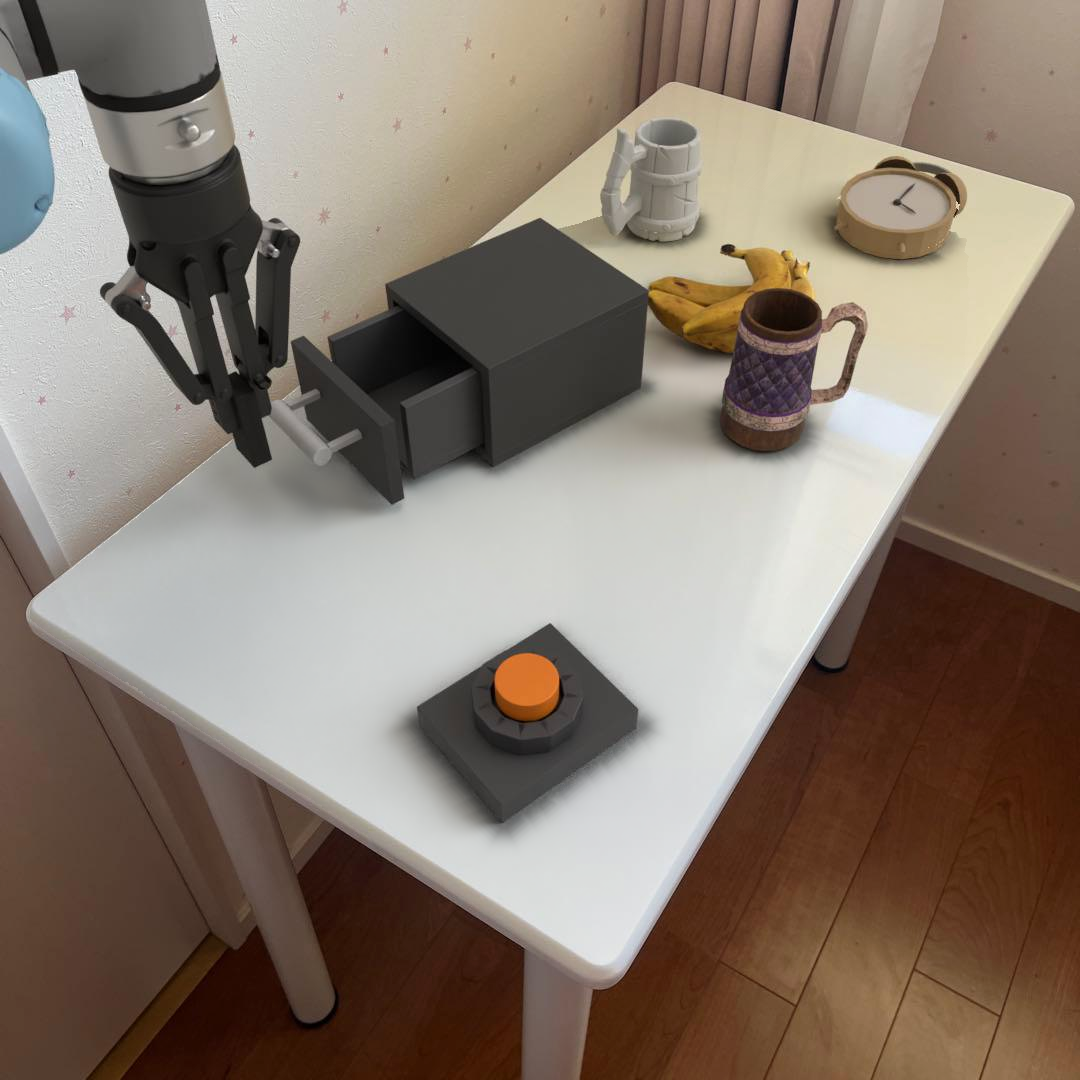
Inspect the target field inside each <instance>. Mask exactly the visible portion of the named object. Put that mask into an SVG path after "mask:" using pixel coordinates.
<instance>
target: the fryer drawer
mask: <svg viewBox="0 0 1080 1080" xmlns="http://www.w3.org/2000/svg"><path fill="white" fill-rule="evenodd" d="M327 343H328V350H329V355H330V358H328V356H326V354H324V353H323V352H322V351H321V350H320V349H319V348H318V347H316V345H314V343H312V342H311V341H310V339H308V338H307V337H306V336H305V335H301V336H299V337H297V338H294V339H292V340H291V341H290V346H291V350H292V356H293V360H294V365H295V370H296V374H297V380H298V383H299V389H300V393H301V395H299V396H297V397H295V398H292V399H291V400H288V401H286V402H285V401H284V400H282V399H275V400H273V401H270V402H271V406H272V410H271V414H270V415H268V417H269V418H270V420H271V421H272V422H274V424H275V425H276V426H277V427H278V428H279V429H280V430H281V431H282V432H283V433H284V434H285V435H286V436H287V437H288V438H289V439H290V440H291V441H292V442H293V443H294V445H296V446H297V447H298V448H299V449H300V451H301V452H302V453H303V454H304V455H305V456H306V457H307V458H308V459H309V460H310V461H311V462H312V463H313V464H314V465H315V466H318V467H319V466H320V467H321V466H324V465H326V464H327V463H329V461H330V460H331V459H332V456H333V453H335V452H338V453H339V454H340V455H341V456H342V457H343V458H344V459H345V460H346V461H347V462H348V463H349V464H350V465H351V466H352V467H354V469H355V470H356V471H357V472H358V473H359V474H360V475H361V476H362V477H363V478H364V479H365V480H366V481H367V483H369V484H370V485H371V486H372V487H373V489H375V490H376V491H377V492H378V493H379V494H380V495H381V496H382V497H383V498H384V499H385V500H386V501H387V502H388V503H389V504H390V505H391V506H393V505H395V504H397V503H399V502H401V501H403V500H405V492H404V483H403V477H402V470H403V471H405V473H406V474H408V475H409V477H411V478H412V480H416V479H419V478H420V477H422V476H424V475H426V474H428V473H430V472H432V471H434V470H436V469H438V468H439V467H442V466H443V465H445V464H447V463H449V462H451V461H452V460H454V459H456V458H458V457H461V456H462V455H465V454H466V453H468V452H470V451H472V450H474V448H476V447H477V446H479V445H481V444H483V443H485V433H484V415H483V396H482V378H481V372H480V371H479V370H477V369H476V368H475V367H474V366H473V365H471V364H470V363H469V362H468V361H467V360H465V359H464V358H463V357H462V356H460V355H459V354H458V353H457V352H456V351H454V350H453V349H452V348H451V347H450V346H448V345H447V344H446V343H445V342H444V341H442V340H441V339H440V338H439V337H438V336H436V335H435V334H434V333H433V332H432V331H430V330H429V329H428V328H427V327H425V326H424V325H423V324H422V323H421V322H419V321H418V320H417V319H416V318H415V317H413V316H412V315H411V314H410V313H409V312H407V311H406V310H405V309H404V308H403V307H401V306H400V305H398V306H396V307H394V308H391V309H389V310H388V309H387V310H384V311H382V312H380V313H378V314H375V315H373V316H371V317H369V318H366V319H364V320H362V321H360V322H358V323H355V324H352V325H350V326H348V327H346V328H344V329H342V330H339V331H337V332H335V333H332V334H330V335H328V336H327ZM300 408H304V413H305V419H306V420H307V421H308V422H309V423H310V424H311V425H312V426H313V427H314V429H315V430H316V431H318V433H320V435H321V436H323V437H324V438H325V439H326V441H327V443H325V442H324V441H323V439H321V438H320V437H319V436H318V435H317V434H316V432H314V431H313V430H312V428H310V427H309V426H308V424H306V423H305V422H304V420H303V419H302V418H301V417H300V416H299V415H298V414H297V413H296V412H295V411H296V410H298V409H300Z"/></svg>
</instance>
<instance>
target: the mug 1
mask: <svg viewBox="0 0 1080 1080" xmlns="http://www.w3.org/2000/svg"><path fill="white" fill-rule="evenodd" d="M701 148H702V131H701V129H700V128H699V127H698V126H696V125H694V124H693V123H691V122H690V121H688V120H687V119H683V118H680V117H674V116H673V117H671V116H670V117H668V116H665V117H663V116H662V117H653V118H650V120H645V121H643V122H641V123H640V124H639V125H638V126H637V128H636V130H635V134H634V141H633V139H632V138H631V136H630V134H629V132H628V131H627V130H626V129H625V128H622V127H617V128H616V141H615V146H614V151H613V152H612V156H611V158H610V163H609V166H608V169H607V171H606V173H605V176H606V178H605V179H604V180H605V181H604V184H603V187H601V190H600V194H599V197H600V203H601V216H602V220H603V223H604V224H605V226H606V227H607V229H608V231H609V233H610V235H612V236H618V235H619V234H620V233H621V232H622V231H623V229H624V227H626V224H627V227H628V229H629V231H631V233H632V234H634V235H635V236H637V237H639V238H642V239H644V240H649V241H653V242H654V241H658V242H664V243H665V242H674V241H678V240H681V239H683V237H686V236H689V235H690V234H691V233H692V232H693V231H694V230H695V228H696V224H697V221H698V220H699V217H700V214H701V204H700V201H699V199H698V197H699V180H700V179H699V178H700V176H701V175H702V172H703V171H702V169H703V159H702V156H701V150H702V149H701ZM629 170H630V172H631V173H630V182H629V183H630V184H629V193H628V195H627V197H626V198H625V200H624V202H623V203H622V200H621V192H622V190H621V187H622V183H623V181H624V179H625V178H626V176H627V174H628V173H629ZM638 227H639V228H638ZM640 228H641V229H640ZM645 230H647V231H645ZM681 230H682V231H681ZM677 231H679V232H677ZM654 232H657V233H654Z"/></svg>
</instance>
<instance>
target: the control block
mask: <svg viewBox="0 0 1080 1080" xmlns="http://www.w3.org/2000/svg"><path fill="white" fill-rule="evenodd" d="M523 653H531V654H537V655H540V656H542V657H544V658H546V659H548V660H549V661H550V662H551V663H552V664H553V665H554V666H555V668H556V669H557V672H558V675H559V699H558V702H557V705H556V706H555V708H554V709H553V711H552V712H551V713H549V714H548V715H547V716H545V717H543V718H541V719H539V720H535V721H519V720H515V719H512V718H510V717H508V716H507V715H506V714H504V713H503V712H502V711H501V709H500V708H499V707H498V705H497V702H496V698H495V682H494V679H495V674H496V671H497V669H498V667H499V666H500V665H501V664H502V663H503V662H504V661H505V660H506V659H508V658H510V657H512V656H514V655H518V654H523ZM416 713H417V718H418V719H417V720H418V725H419V728H421V730H422V731H423V733H425V735H427V737H428V738H429V739H430V740H431V741H432V742H433V744H434V745H435V746H436V747H437V748H438V750H439V751H440V752H441V753H442V754H443V756H444V757H445V758H446V759H447V760H448V761H449V763H450V764H451V765H452V766H453V767H454V769H455V770H456V771H457V772H458V773H459V774H460V775H461V777H462V778H463V779H464V780H465V782H467V784H468V785H469V786H470V787H471V788H472V789H473V791H474V792H475V793H476V794H477V796H478V797H479V798H480V799H481V800H482V801H483V802H484V804H485V805H486V806H487V808H489V810H490V811H491V812H492V813H493V815H495V816H496V818H497V819H498V820H499V821H500V822H501V823H502V824H503V823H505V822H506V821H508V820H509V819H510V818H512V817H513V816H514V815H516V814H517V813H519V812H520V811H522V810H523V809H525V808H526V807H527V806H529V805H530V804H531V803H533V802H534V801H536V800H537V799H538V798H540V797H541V796H543V795H544V794H545V793H547V792H549V790H552V788H554V787H555V786H556V785H558V784H560V783H561V782H562V781H564V780H565V779H566V778H568V777H570V776H571V775H573V773H575V772H576V771H578V770H579V769H581V768H582V767H584V766H585V765H587V764H588V763H590V761H592V760H594V759H595V758H596V757H597V756H599V755H600V754H602V753H603V752H605V751H607V749H609V748H610V747H612V746H613V745H615V744H616V743H617V742H619V741H620V740H622V739H623V738H624V737H626V736H627V735H628V734H630V733H632V732H633V731H634V730H636V729H637V728H638V727H637V726H638V717H639V708H638V707H637V706H636V705H635V704H634V703H633V702H632V701H631V700H630V699H629V698H628V697H627V696H626V695H625V694H624V693H623V692H622V691H621V690H619V688H618V687H617V686H615V684H614V683H612V682H611V681H610V680H609V678H607V676H606V675H604V674H603V673H602V672H601V671H600V670H599V669H598V668H597V667H596V666H595V664H593V663H592V662H591V661H590V660H589V659H588V658H587V657H586V656H585V655H584V654H583V653H582V652H581V651H580V650H579V649H578V648H577V647H576V646H575V645H573V644H572V643H571V641H569V639H567V637H566V636H565V635H563V634H562V633H561V632H560V631H559V630H558V629H557V628H556V627H555V626H554V625H553V624H552V623H551V622H549V623H548V624H546V625H544V626H543V627H541V628H539V629H538V630H537V631H535V632H533V633H532V634H530V635H528V636H527V637H525V638H523V639H522V640H521V641H519V642H517V643H516V644H514V645H513V646H511V647H509V648H508V649H505V650H503V651H502V652H500V653H499V654H497V655H495V656H493V657H492V658H491V659H489V660H487V661H486V662H484V663H483V664H481V666H479V667H477V668H476V669H474V670H473V671H472V672H470V673H468V674H466V675H465V676H464V677H461V678H460V679H459V680H457V681H455V682H453V683H452V684H451V685H449V686H447V687H446V688H444V689H443V690H441V691H439V692H438V693H436V694H435V695H433V696H431V697H430V698H428V699H427V700H425V701H423V702H422V703H420V704H418V705H417V706H416Z"/></svg>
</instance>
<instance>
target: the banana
mask: <svg viewBox="0 0 1080 1080" xmlns="http://www.w3.org/2000/svg"><path fill="white" fill-rule="evenodd" d="M719 254H721V255H724V256H728V257H730V258H733V259H740V260H742V261H743V260H744V262H745V265H746V266H747V267H746V268H747V269H748V271H749V273H750V275H751V277H752V284H749V285H718V284H710V283H706V282H705V283H704V282H699V281H696V280H691V279H687V278H684V277H680V276H679V277H678V276H665V277H662V278H659V279H656V280H654V281H652V282H650V283H649V284H648V285H649V286H648V290H649V295H648V308H649V309H650V310H651V312H652V314H653V315H654V317H655V318H656V320H657V321H658V322H659V323H660V324H661V325H662V326H663V327H664V328H666V329H667V330H669V332H671V333H673V334H675V335H677V336H679V337H680V338H682V339H684V340H687V341H688V342H690V343H693V344H695V345H699V346H701V347H704V348H706V349H709V350H713V351H716V352H717V351H718V352H723V353H727V354H728V353H729V354H733V352H734V347H735V342H736V337H737V332H738V323H739V318H740V313H741V310H742V309H743V306H744V303H745V301H746V300H747V299H748V297H749V296H751V295H753V294H754V293H756V292H758V291H762V290H765V289H771V288H784V289H791V290H795V291H798V292H802V293H803V294H805V295H807V296H809V297H811V298H812V299H813V300H814V301H815V302H816V295H815V294H816V293H815V290H814V288H813V285H812V283H811V282H810V280H809V278H808V276H807V275H808V272H809V269H810V266H811V265H810V264H811V262H810V261H806V260H805V261H802V262H801V261H800V260H799V259H798V258H794V257H793V256H794V255H793V251H792V250H785V249H784V250H782V251H781V253H779V252H778V251H776V250H774V249H772V248H770V247H769V248H768V247H754V248H746V249H741V248H738V247H736V246H735V245H734V244H732V243H726V244H723V245H721V247H720V252H719Z"/></svg>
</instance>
